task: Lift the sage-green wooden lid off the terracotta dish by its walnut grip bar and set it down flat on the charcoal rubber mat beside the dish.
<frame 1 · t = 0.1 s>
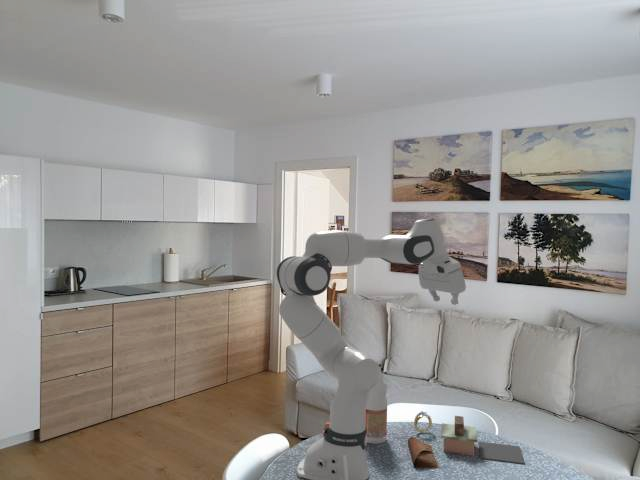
hand: (445, 302, 170), 52 cm above the table, tool tilted 20°, fingers open, 8 cm apart
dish: (458, 447, 176), on the table
sunglasses case: (422, 458, 168), on the table
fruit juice: (373, 439, 181), on the table
ring: (422, 433, 189), on the table
mat: (500, 452, 172), on the table
lid: (458, 433, 176), point 5 cm above the table, touching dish
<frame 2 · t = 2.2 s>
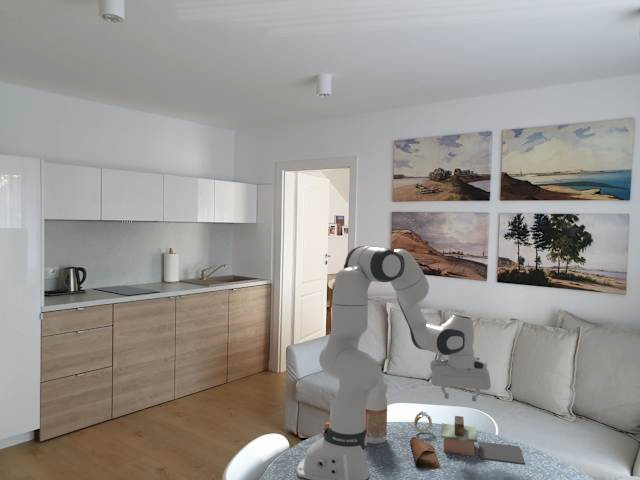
hand: (460, 399, 176), 17 cm above the table, tool pointing down, fingers open, 8 cm apart
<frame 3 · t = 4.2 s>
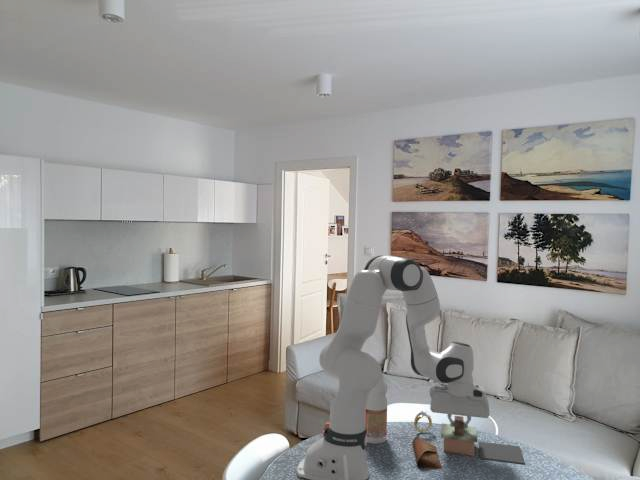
hand: (459, 427, 176), 7 cm above the table, tool pointing down, fingers closed on lid, 3 cm apart
lid: (458, 433, 176), point 5 cm above the table, touching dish, gripper
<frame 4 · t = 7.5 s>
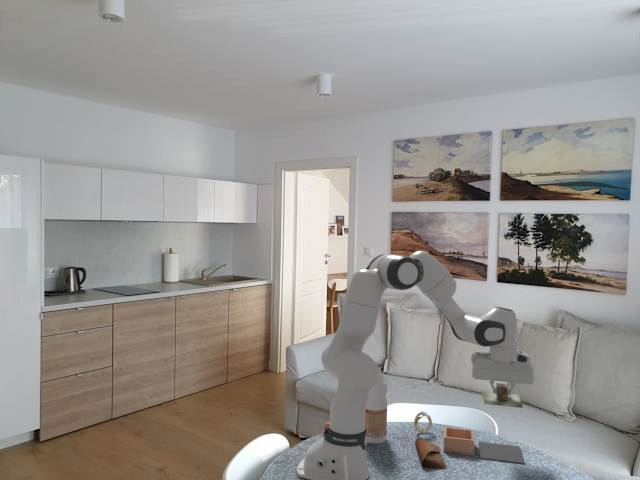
hand: (501, 393, 172), 20 cm above the table, tool pointing down, fingers closed on lid, 3 cm apart
sunglasses case: (430, 458, 168), on the table
lid: (501, 400, 172), point 18 cm above the table, touching gripper
everything else where it was.
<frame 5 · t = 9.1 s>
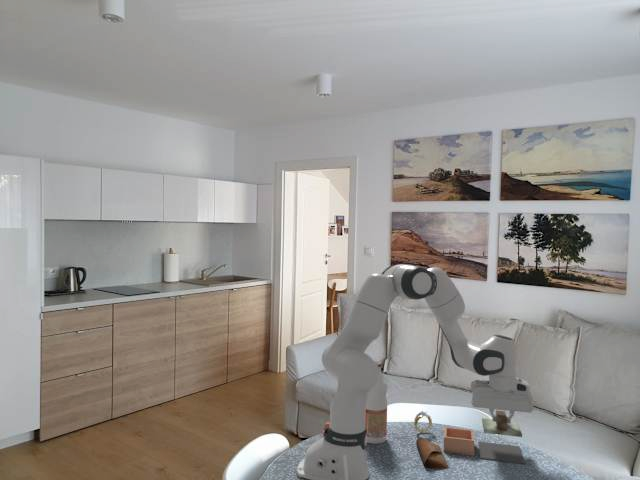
hand: (501, 421, 172), 11 cm above the table, tool pointing down, fingers closed on lid, 3 cm apart
lid: (501, 428, 172), point 8 cm above the table, touching gripper
when the fingers open (4 cm above the table, at t = 10.7 s): lid drops 1 cm, resting on mat.
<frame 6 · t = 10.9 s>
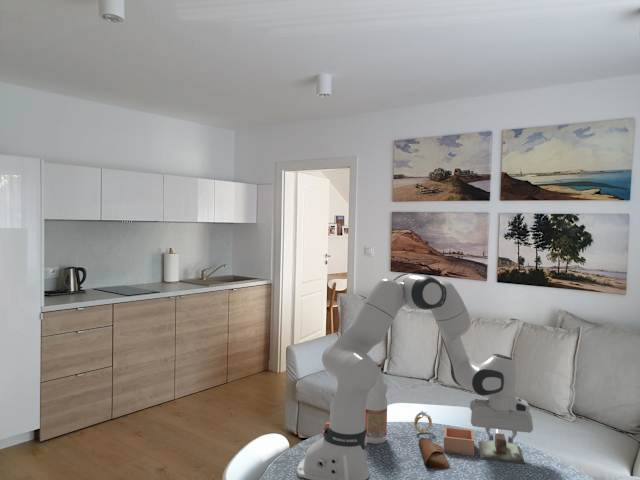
hand: (500, 441, 172), 4 cm above the table, tool pointing down, fingers open, 5 cm apart
lid: (500, 451, 172), resting on mat
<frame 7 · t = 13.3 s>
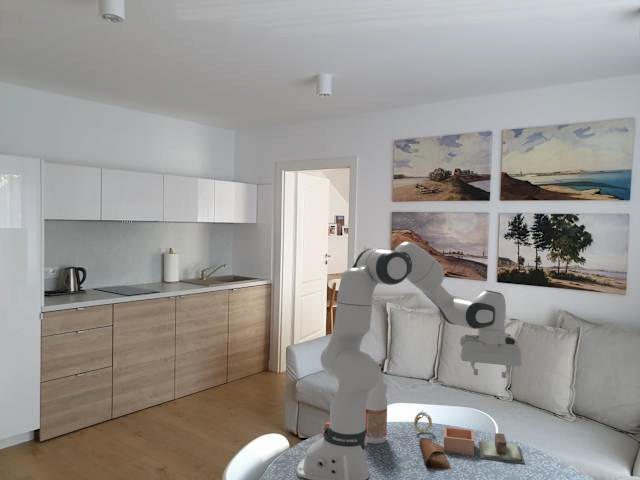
hand: (489, 376, 174), 26 cm above the table, tool pointing down, fingers open, 8 cm apart
sunglasses case: (434, 459, 168), on the table, touching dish
everything else where it was.
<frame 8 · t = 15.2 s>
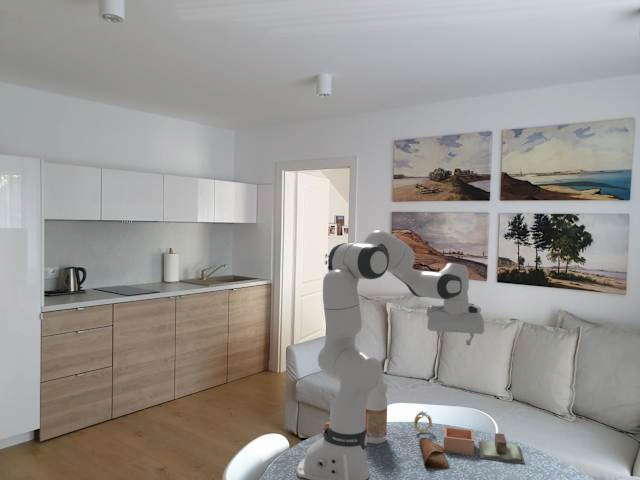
hand: (454, 344, 183), 35 cm above the table, tool pointing down, fingers open, 8 cm apart
sunglasses case: (433, 458, 168), on the table
everything else where it was.
at the end: lid inside the target area on the mat (0.1 cm from its centre), point 0.4 cm above the mat's base; lid tilted 0°; the gripper is holding nothing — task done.
